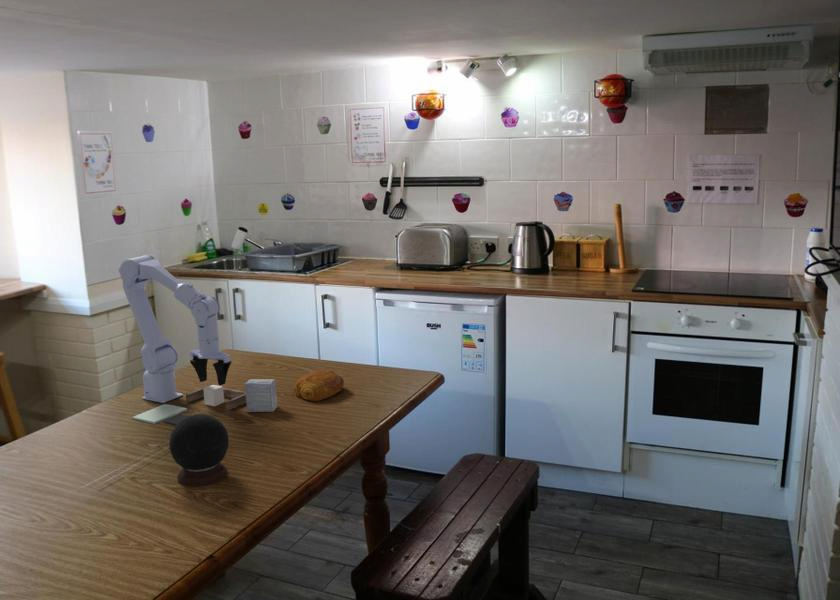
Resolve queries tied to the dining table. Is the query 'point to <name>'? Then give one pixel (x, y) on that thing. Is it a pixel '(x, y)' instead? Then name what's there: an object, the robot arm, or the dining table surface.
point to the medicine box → (261, 395)
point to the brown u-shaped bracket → (236, 396)
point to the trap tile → (175, 419)
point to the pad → (159, 413)
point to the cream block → (213, 395)
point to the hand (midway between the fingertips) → (212, 382)
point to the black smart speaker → (199, 450)
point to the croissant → (318, 385)
